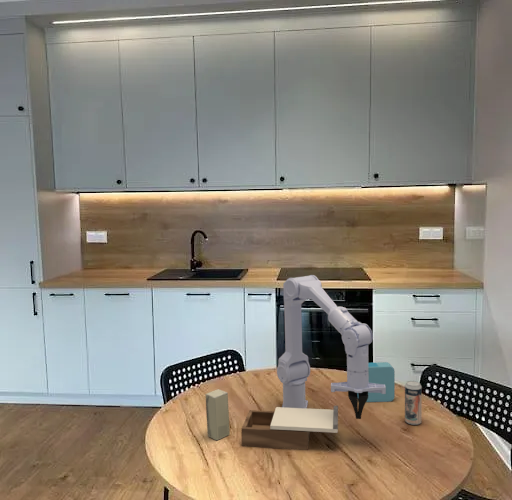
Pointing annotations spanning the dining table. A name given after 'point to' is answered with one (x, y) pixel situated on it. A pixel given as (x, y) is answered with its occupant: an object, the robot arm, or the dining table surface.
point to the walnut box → (271, 433)
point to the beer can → (413, 402)
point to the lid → (305, 419)
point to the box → (217, 414)
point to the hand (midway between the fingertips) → (358, 417)
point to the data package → (381, 381)
